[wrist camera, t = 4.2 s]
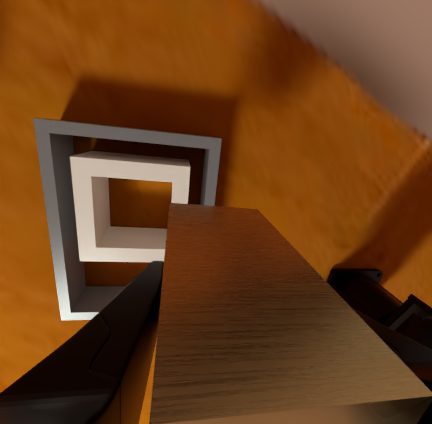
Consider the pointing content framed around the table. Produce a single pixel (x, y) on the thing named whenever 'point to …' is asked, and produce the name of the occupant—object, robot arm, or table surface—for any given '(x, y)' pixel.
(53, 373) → the robot arm
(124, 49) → the table surface
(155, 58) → the table surface
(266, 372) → the peg
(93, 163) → the walled frame
